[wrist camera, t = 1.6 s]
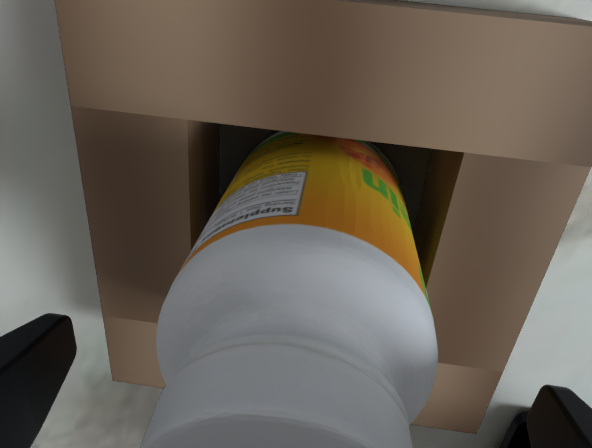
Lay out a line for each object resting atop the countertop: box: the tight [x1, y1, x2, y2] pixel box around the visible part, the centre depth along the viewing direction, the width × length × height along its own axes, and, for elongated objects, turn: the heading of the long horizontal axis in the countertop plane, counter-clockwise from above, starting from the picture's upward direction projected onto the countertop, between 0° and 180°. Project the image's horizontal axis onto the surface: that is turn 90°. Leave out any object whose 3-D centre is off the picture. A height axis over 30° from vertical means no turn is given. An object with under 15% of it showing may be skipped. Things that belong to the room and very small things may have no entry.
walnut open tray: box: [55, 0, 592, 434], centre depth 13 cm, size 12×12×3 cm
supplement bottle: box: [140, 131, 438, 448], centre depth 10 cm, size 5×5×10 cm
